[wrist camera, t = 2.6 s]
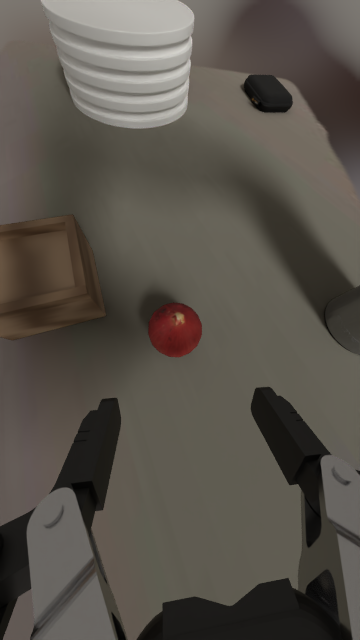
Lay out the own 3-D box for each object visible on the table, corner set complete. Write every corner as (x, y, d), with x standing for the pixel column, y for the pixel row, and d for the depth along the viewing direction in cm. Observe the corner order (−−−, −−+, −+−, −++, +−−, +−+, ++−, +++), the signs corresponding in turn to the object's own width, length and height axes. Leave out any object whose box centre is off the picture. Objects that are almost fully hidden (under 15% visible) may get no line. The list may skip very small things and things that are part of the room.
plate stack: (98, 64, 48) (79, -28, 38) (195, 86, 48) (204, 2, 38) (50, 112, 38) (6, 6, 28) (174, 140, 38) (177, 46, 28)
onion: (141, 336, 22) (129, 311, 15) (174, 309, 24) (179, 274, 16) (172, 370, 21) (176, 363, 14) (204, 340, 23) (224, 318, 15)
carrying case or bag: (236, 89, 51) (255, 116, 46) (240, 71, 48) (261, 98, 43) (268, 89, 52) (290, 115, 47) (274, 72, 49) (298, 98, 45)
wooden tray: (92, 251, 26) (72, 214, 20) (106, 315, 23) (87, 293, 17) (10, 266, 24) (-37, 230, 18) (12, 340, 21) (-45, 324, 15)
